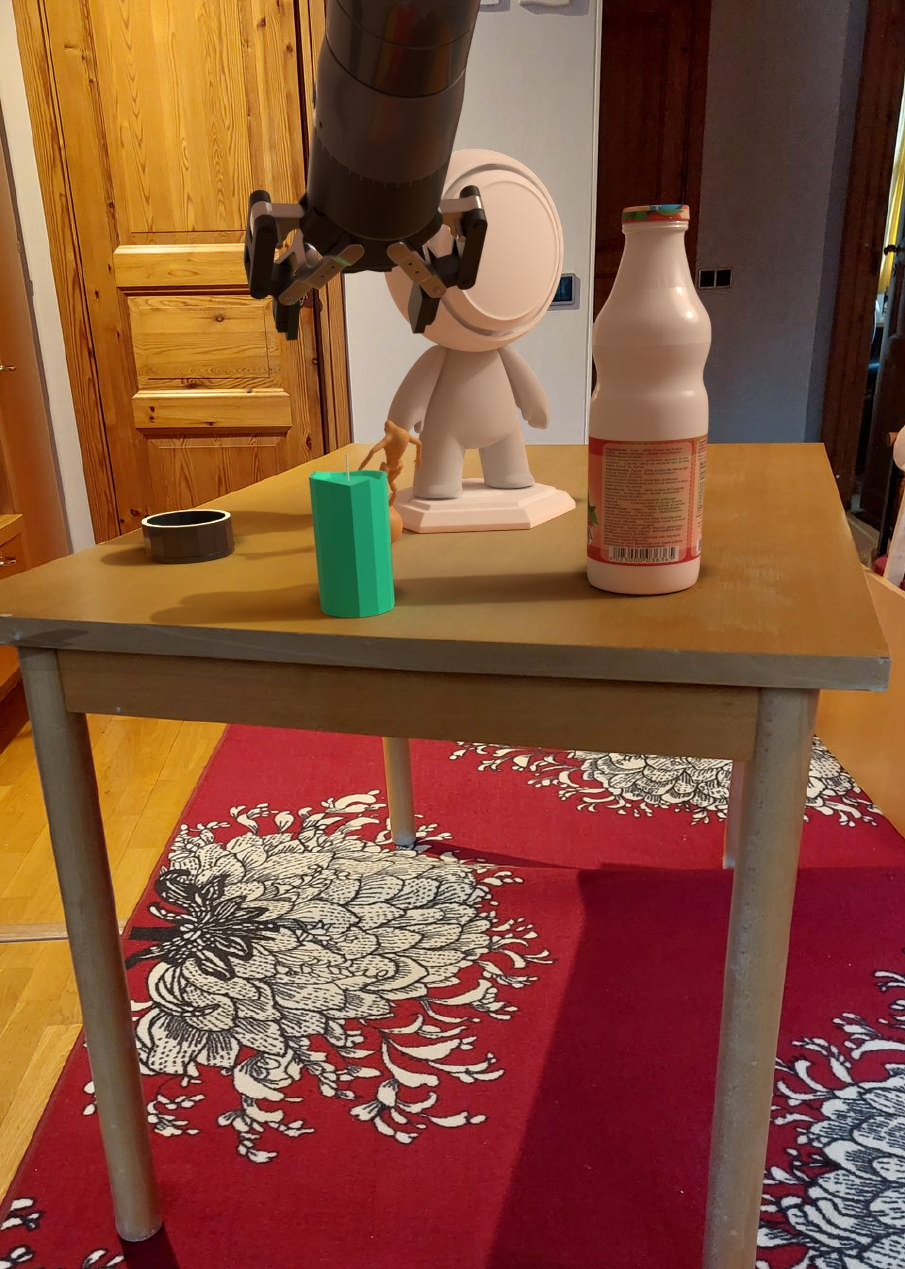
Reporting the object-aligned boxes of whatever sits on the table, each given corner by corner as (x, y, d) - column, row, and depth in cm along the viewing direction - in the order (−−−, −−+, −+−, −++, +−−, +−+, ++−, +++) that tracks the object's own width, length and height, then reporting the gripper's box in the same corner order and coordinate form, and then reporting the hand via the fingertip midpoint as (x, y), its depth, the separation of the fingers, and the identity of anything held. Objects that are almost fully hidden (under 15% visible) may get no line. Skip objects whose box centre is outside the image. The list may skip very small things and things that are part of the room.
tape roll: (167, 568, 105) (161, 531, 103) (134, 553, 111) (128, 518, 109) (249, 553, 109) (245, 517, 107) (213, 540, 115) (208, 506, 114)
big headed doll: (447, 542, 110) (431, 134, 95) (348, 509, 128) (321, 162, 113) (607, 516, 119) (616, 139, 104) (493, 488, 137) (486, 163, 122)
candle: (307, 614, 88) (292, 459, 83) (342, 595, 93) (329, 447, 88) (375, 620, 86) (364, 460, 81) (406, 600, 91) (398, 448, 86)
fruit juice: (640, 603, 87) (655, 201, 75) (563, 581, 94) (565, 211, 82) (722, 582, 92) (749, 201, 80) (643, 563, 99) (656, 210, 87)
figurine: (400, 535, 114) (393, 413, 109) (441, 543, 110) (436, 416, 105) (339, 550, 109) (328, 422, 103) (379, 559, 105) (371, 426, 99)
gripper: (261, 181, 55) (255, 382, 71) (529, 175, 59) (467, 368, 74) (237, 61, 57) (236, 282, 72) (499, 61, 60) (444, 273, 76)
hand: (353, 326), depth 73 cm, fingers open, 8 cm apart
